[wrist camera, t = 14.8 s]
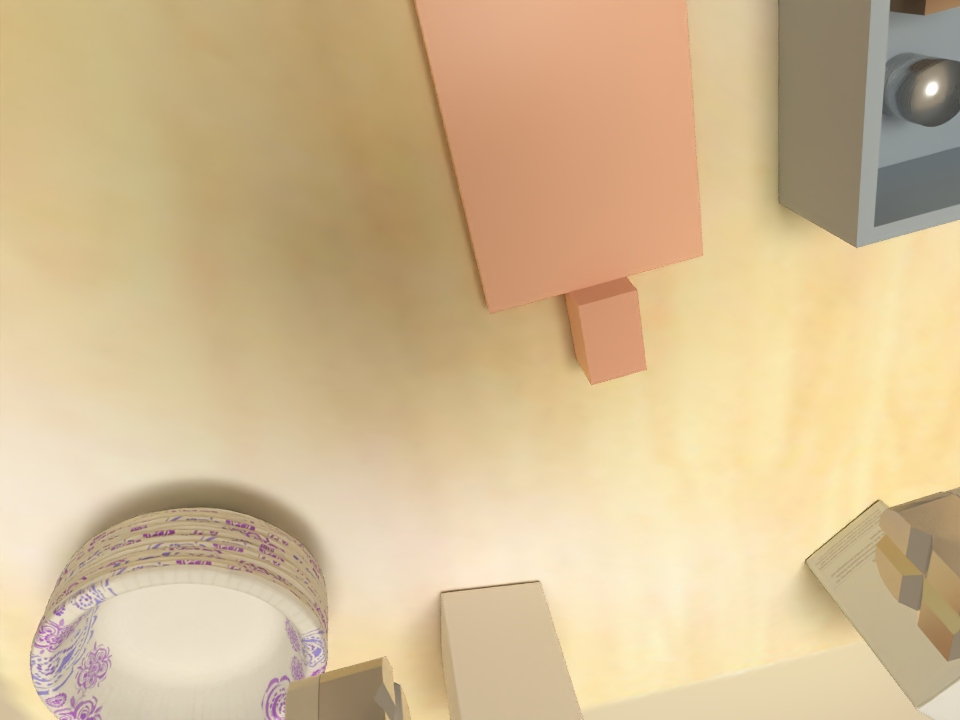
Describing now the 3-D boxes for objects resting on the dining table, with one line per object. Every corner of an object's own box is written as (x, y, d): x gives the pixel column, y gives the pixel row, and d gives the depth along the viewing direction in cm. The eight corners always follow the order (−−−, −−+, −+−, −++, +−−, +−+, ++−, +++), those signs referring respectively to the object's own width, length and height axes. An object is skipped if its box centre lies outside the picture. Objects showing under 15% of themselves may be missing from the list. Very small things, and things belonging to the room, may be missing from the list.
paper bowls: (338, 633, 51) (338, 740, 44) (107, 662, 48) (69, 779, 42) (318, 458, 43) (313, 554, 36) (43, 482, 41) (-17, 589, 34)
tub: (779, -143, 32) (881, -165, 26) (1036, -208, 32) (1196, -245, 26) (778, 202, 40) (856, 247, 34) (984, 147, 40) (1096, 182, 34)
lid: (410, -13, 32) (416, -11, 29) (670, -80, 32) (698, -84, 30) (504, 379, 43) (514, 406, 40) (699, 324, 43) (722, 348, 40)
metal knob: (873, 60, 36) (914, 69, 33) (930, 45, 36) (975, 53, 34) (869, 121, 38) (908, 134, 35) (924, 106, 38) (966, 117, 35)
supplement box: (801, 560, 55) (914, 711, 44) (879, 496, 53) (1018, 637, 42) (852, 596, 58) (969, 745, 47) (927, 537, 56) (1068, 678, 45)
